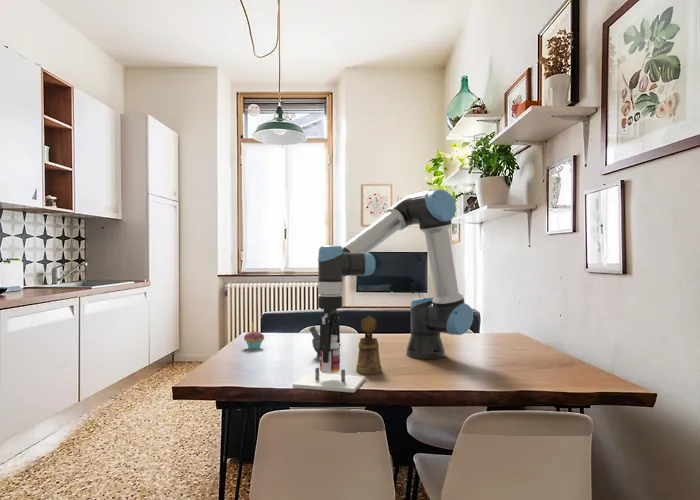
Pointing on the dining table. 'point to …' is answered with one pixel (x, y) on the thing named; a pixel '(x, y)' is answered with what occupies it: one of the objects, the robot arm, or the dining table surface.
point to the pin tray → (330, 382)
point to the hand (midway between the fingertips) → (329, 370)
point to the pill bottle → (333, 355)
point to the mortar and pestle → (315, 340)
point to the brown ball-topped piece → (368, 349)
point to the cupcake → (254, 339)
